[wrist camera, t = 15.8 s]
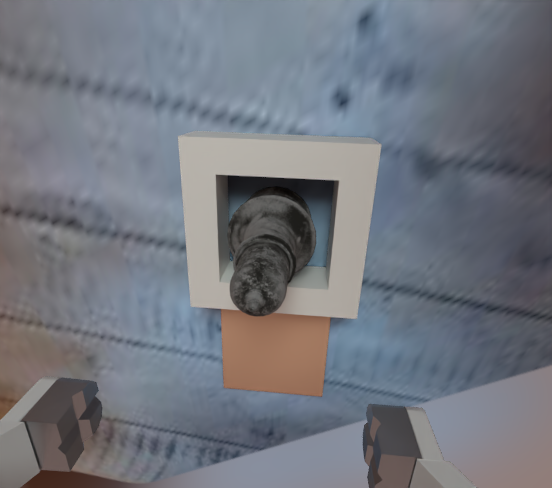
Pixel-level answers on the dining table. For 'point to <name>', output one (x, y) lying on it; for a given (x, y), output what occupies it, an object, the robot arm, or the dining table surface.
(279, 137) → the socket block
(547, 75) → the dining table surface
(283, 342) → the terracotta tile
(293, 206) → the dark turned stone ornament
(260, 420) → the dining table surface
